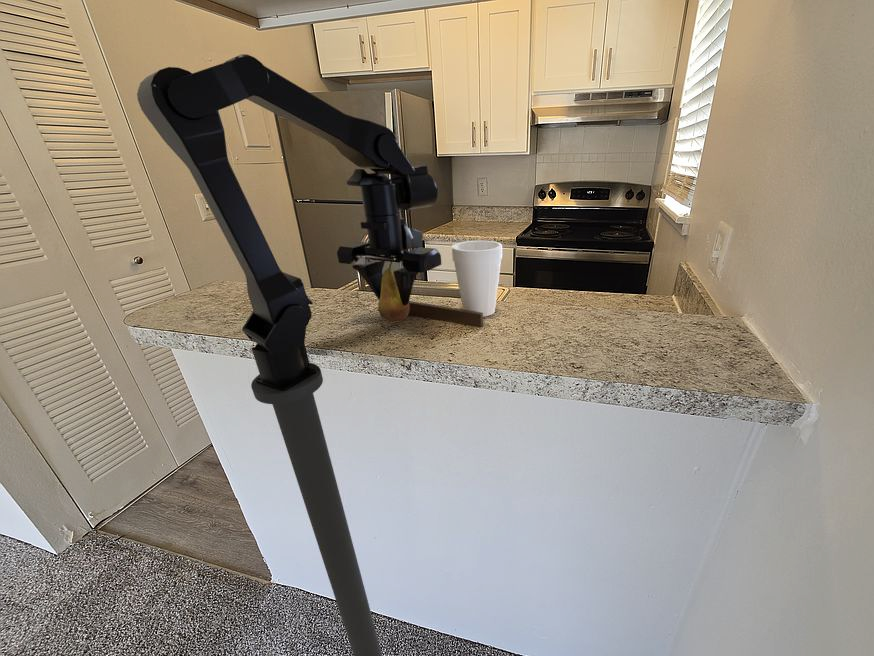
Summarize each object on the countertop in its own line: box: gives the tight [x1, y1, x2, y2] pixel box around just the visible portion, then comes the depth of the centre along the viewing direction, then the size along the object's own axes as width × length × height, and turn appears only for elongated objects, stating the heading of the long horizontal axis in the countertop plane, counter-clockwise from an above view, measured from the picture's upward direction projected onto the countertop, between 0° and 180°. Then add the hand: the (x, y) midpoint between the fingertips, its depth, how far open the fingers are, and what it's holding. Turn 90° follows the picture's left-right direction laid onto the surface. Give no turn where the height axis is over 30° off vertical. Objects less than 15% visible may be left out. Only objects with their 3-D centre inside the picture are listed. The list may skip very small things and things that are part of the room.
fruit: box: [377, 256, 410, 323], centre depth 73 cm, size 6×6×12 cm
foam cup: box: [451, 239, 503, 318], centre depth 78 cm, size 10×9×13 cm
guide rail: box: [408, 300, 484, 328], centre depth 78 cm, size 1×20×2 cm, turn 63°
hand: (394, 302), depth 74 cm, fingers closed on fruit, 5 cm apart
